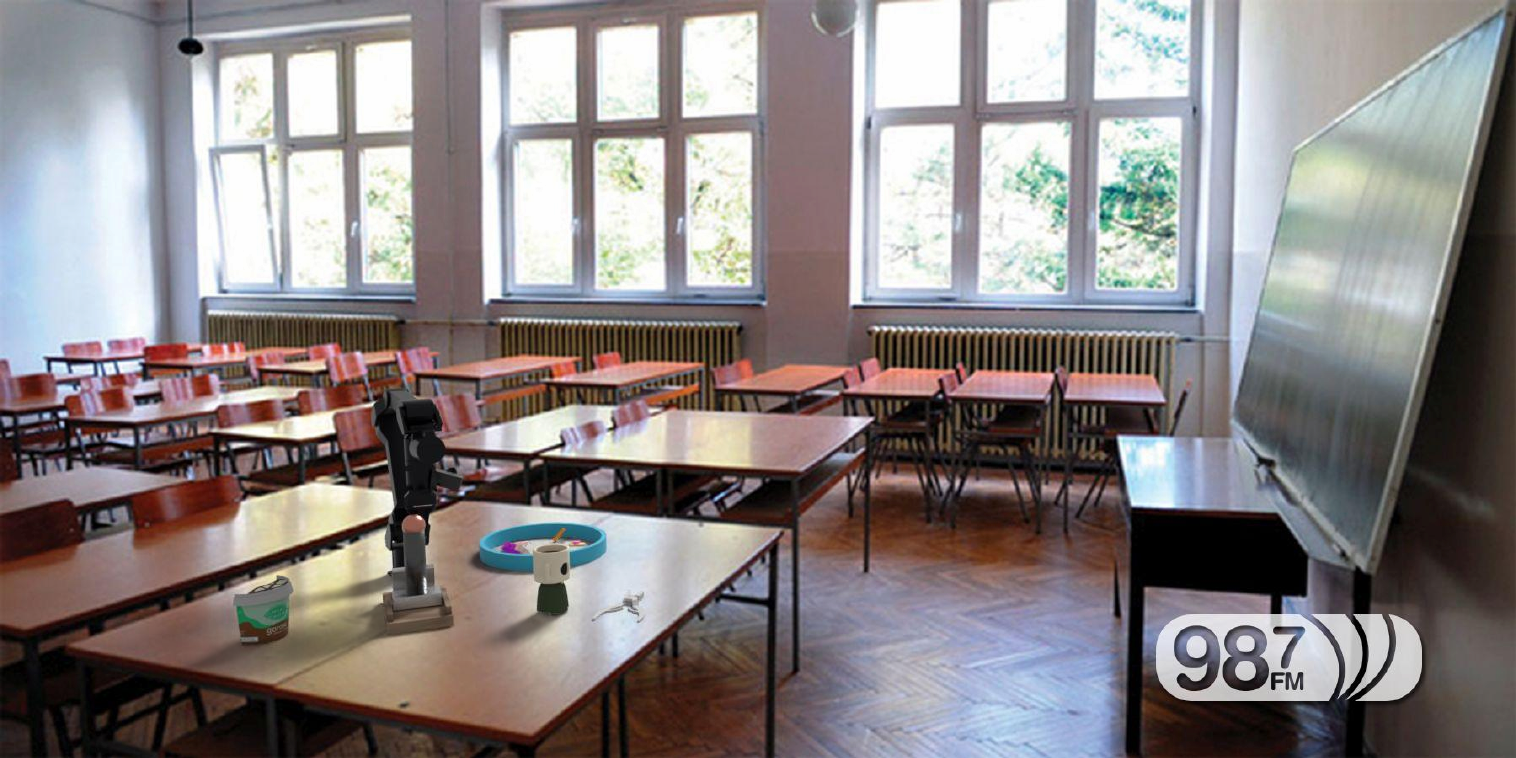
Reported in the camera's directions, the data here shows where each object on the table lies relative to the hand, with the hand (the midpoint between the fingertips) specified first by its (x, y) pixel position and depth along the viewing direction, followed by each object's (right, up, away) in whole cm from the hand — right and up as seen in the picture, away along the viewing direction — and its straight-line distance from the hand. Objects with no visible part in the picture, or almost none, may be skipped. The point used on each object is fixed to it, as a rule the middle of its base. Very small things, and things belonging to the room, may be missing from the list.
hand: (423, 532), depth 207 cm
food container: (-20, -16, -24) cm, 35 cm away
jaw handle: (+3, -12, -13) cm, 18 cm away
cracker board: (+3, -14, -11) cm, 18 cm away
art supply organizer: (+19, -10, +31) cm, 38 cm away
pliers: (+44, -14, -9) cm, 47 cm away
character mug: (+29, -14, -11) cm, 34 cm away
